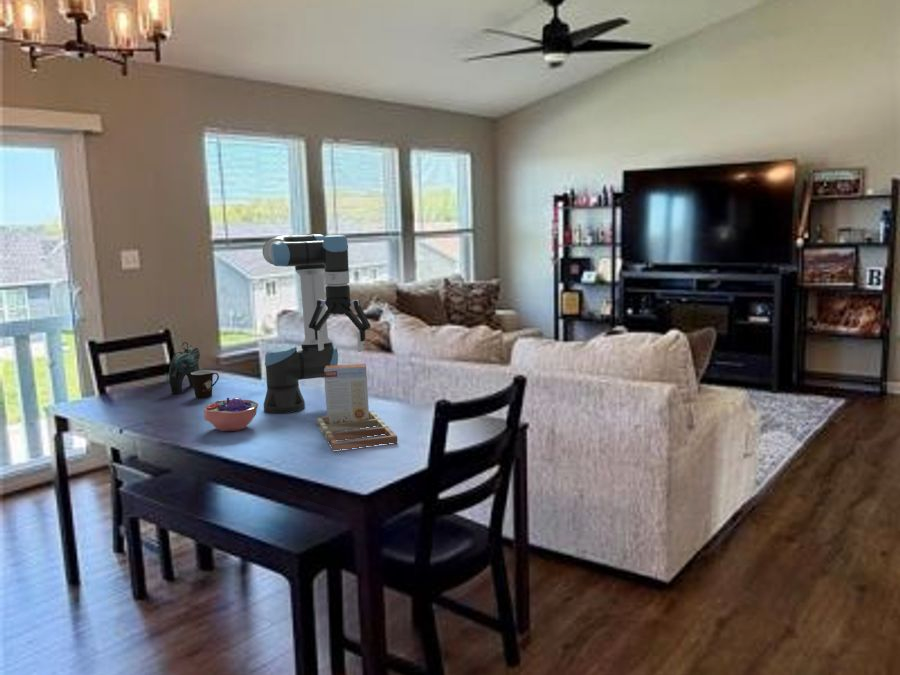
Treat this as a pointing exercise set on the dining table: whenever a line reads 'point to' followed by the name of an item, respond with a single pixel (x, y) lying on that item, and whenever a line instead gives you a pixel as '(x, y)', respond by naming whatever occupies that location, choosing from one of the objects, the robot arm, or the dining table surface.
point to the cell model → (230, 413)
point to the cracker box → (346, 393)
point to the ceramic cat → (183, 367)
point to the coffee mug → (203, 383)
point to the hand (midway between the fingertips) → (340, 350)
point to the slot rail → (356, 432)
